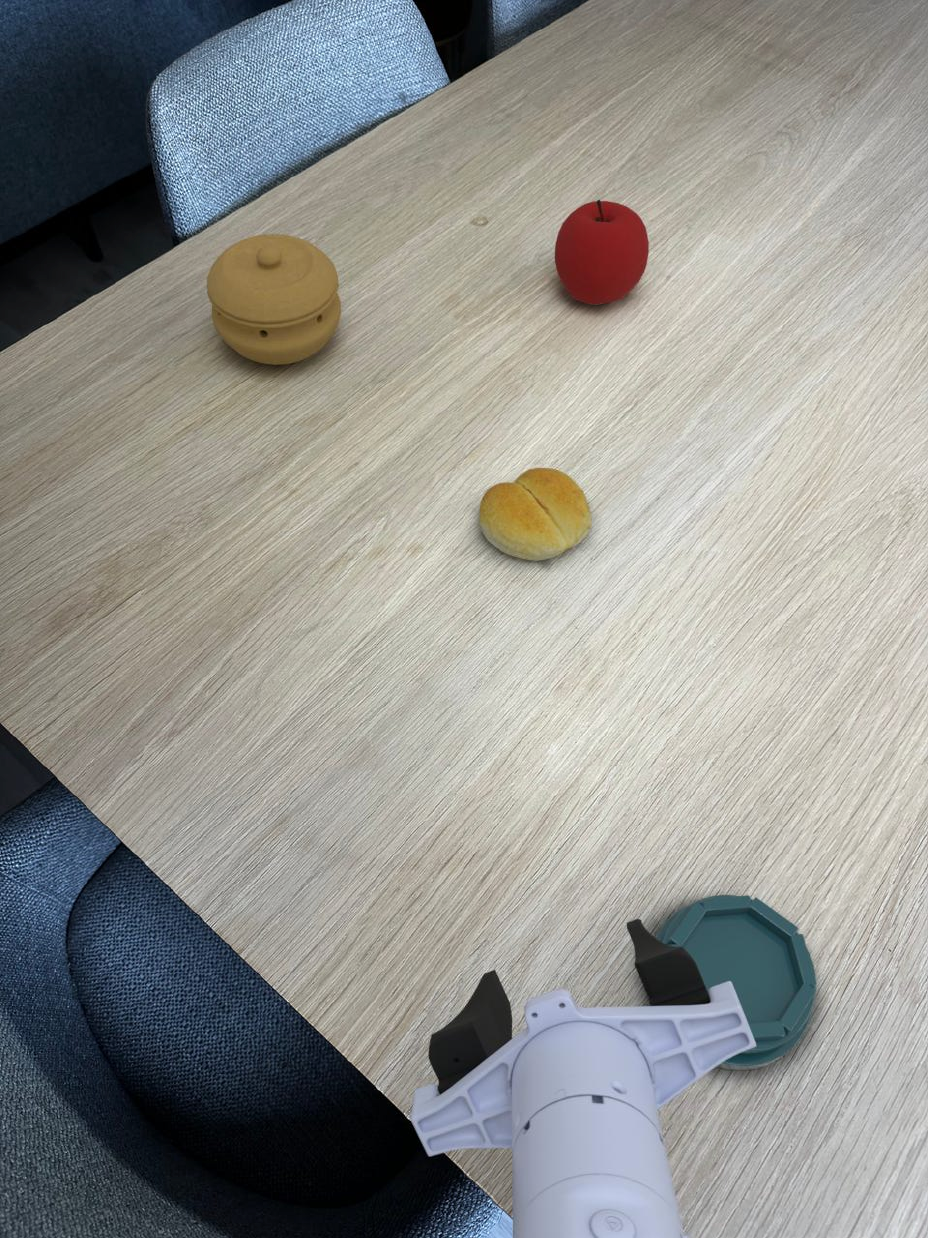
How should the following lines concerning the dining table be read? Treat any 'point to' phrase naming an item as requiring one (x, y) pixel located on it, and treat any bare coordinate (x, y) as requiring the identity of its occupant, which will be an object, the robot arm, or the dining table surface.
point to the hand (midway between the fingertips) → (567, 963)
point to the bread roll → (535, 514)
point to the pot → (274, 298)
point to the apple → (601, 252)
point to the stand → (750, 968)
